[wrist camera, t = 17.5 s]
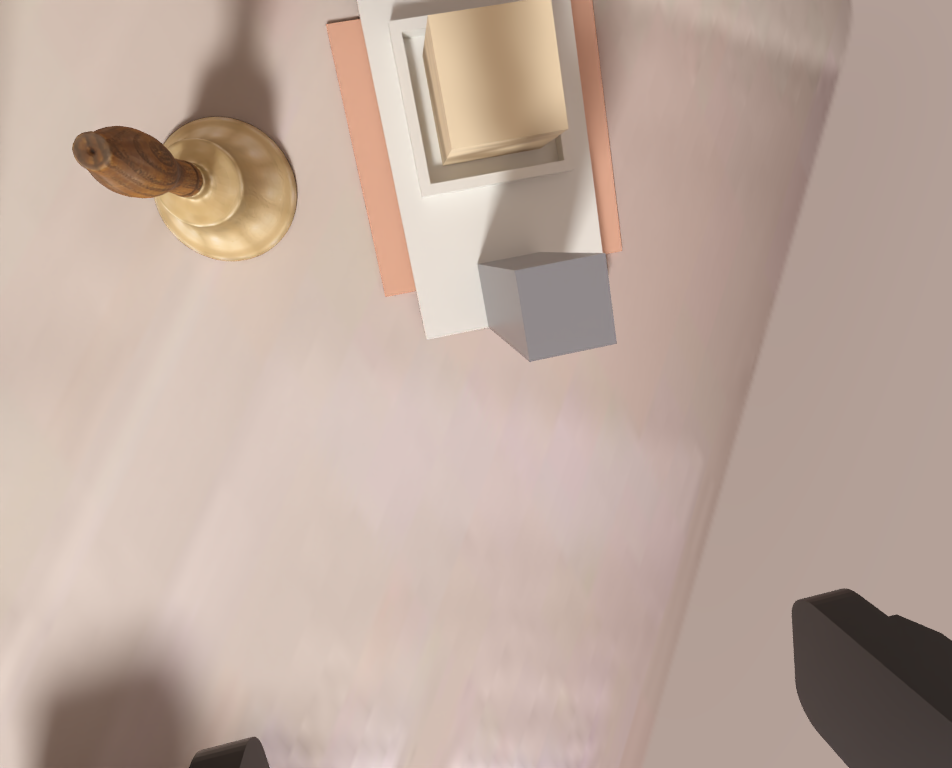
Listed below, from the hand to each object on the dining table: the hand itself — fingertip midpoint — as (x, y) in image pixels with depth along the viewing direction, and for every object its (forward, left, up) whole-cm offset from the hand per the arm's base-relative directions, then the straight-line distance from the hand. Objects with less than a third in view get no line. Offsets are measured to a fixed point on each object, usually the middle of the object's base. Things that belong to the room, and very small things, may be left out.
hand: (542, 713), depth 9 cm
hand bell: (-10, +12, -32) cm, 36 cm away
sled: (+6, +11, -31) cm, 34 cm away
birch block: (+6, +14, -30) cm, 34 cm away
